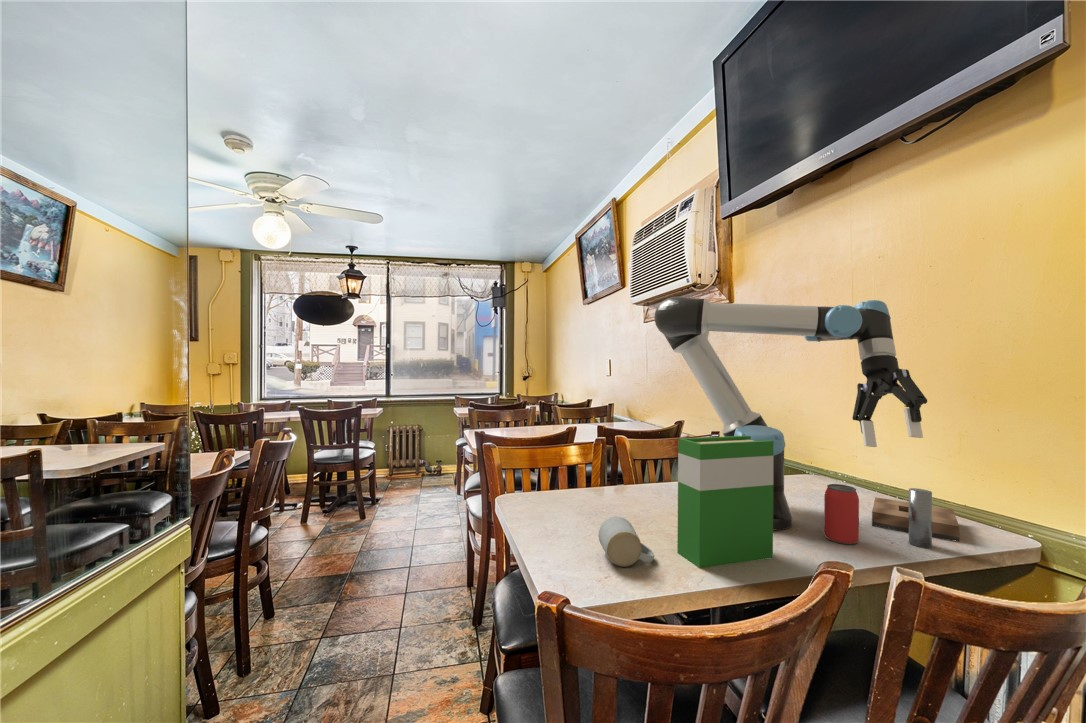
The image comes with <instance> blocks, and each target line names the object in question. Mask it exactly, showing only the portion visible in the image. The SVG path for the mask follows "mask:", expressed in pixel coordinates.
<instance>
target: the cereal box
mask: <svg viewBox="0 0 1086 723" xmlns="http://www.w3.org/2000/svg"><path fill="white" fill-rule="evenodd" d="M677 443H678V444H677V445H678V446H677V451H678V452H677V456H678V457H677V546H676V547H677V551H676V552H677V554H678V555H679V556H681V557H682V558H683V559H685V560H687V562H690V563H691V564H693V565H694V566H695V567H697V568H698V569H703V568H711V567H719V566H725V565H731V564H733V565H734V564H739V563H746V562H747V563H748V562H752V561H753V562H754V561H761V560H768V559H773V558H774V530H773V452H774V441H771V440H767V441H753V440H751V436H727V437H725V436H713V437H712V436H709V437H706V436H705V437H686V438H685V437H683V438H681V437H680V438H678V440H677Z"/></svg>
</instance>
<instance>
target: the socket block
mask: <svg viewBox="0 0 1086 723" xmlns="http://www.w3.org/2000/svg"><path fill="white" fill-rule="evenodd" d="M871 525H872V526H873V527H878V528H882V529H883V528H884V529H888V530H893V531H898V532H899V531H900V532H904V533H905V532H906V533H909V501H902V500H895V499H887V498H882V497H877V496H876V497H874V501H873V506H872V511H871ZM936 537H938V538H937V539H941V538H944V539H943V540H947V539H950V540H949V541H952V540H956V541H955V542H958V541H959V542H960V524H959V522H958V519H957V516H956V514H955V510H954V509H953V508H947V507H940V506H936V505H935V506H934V505H932V538H936Z"/></svg>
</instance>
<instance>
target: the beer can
mask: <svg viewBox="0 0 1086 723" xmlns="http://www.w3.org/2000/svg"><path fill="white" fill-rule="evenodd" d="M823 497H824V499H823V501H824V507H823V508H824V512H823V513H824V515H823V516H824V518H823V520H824V521H823V523H824V524H823V525H824V526H823V528H824V529H823V530H824V531H823V533H824V534H823V535H824V537H825V538H826V539H828V540H829V541H832V542H833V543H838V544H843V545H855V544H857V543H859V540H860V526H859V525H860V498H859V495H858V492H857V489H856V487H854V486H851V485H847V484H841V483H839V484H838V483H830V484H827V487H826V490H825V492H824V496H823Z"/></svg>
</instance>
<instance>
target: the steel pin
mask: <svg viewBox="0 0 1086 723" xmlns="http://www.w3.org/2000/svg"><path fill="white" fill-rule="evenodd" d="M908 502H909V532H908V544H910V545H911V546H913V547H916V548H921V549H932V547H933V537H932V506H933V491H931V490H928V489H924V488H916V487H913V488H911V487H910V488H908Z"/></svg>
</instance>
